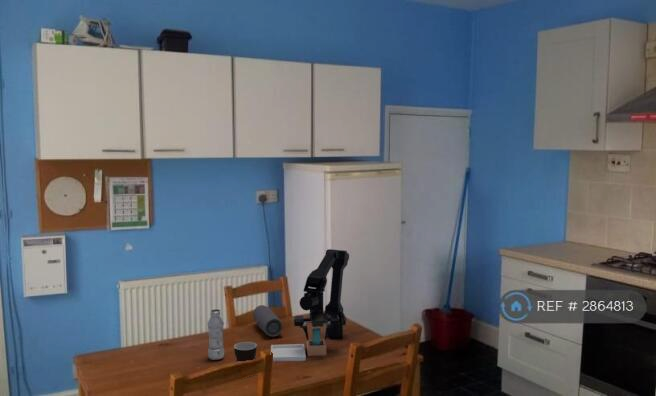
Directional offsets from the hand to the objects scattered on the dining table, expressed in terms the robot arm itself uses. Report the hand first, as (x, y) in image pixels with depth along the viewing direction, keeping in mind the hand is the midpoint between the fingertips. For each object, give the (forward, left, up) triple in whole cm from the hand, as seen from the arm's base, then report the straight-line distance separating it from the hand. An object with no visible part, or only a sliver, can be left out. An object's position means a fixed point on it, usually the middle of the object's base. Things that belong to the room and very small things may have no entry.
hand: (316, 340), depth 227 cm
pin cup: (0, 0, -5) cm, 5 cm away
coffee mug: (+28, +16, -5) cm, 33 cm away
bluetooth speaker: (+21, -28, -5) cm, 35 cm away
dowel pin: (0, 0, -5) cm, 5 cm away
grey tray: (+12, +2, -5) cm, 13 cm away
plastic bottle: (+41, +4, -5) cm, 42 cm away
